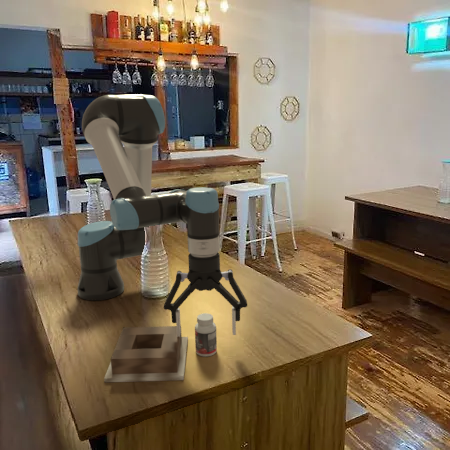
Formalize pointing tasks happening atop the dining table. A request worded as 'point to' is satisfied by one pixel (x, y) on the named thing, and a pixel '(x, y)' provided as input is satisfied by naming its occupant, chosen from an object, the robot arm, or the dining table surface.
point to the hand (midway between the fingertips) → (206, 333)
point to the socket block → (148, 355)
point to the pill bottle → (205, 335)
